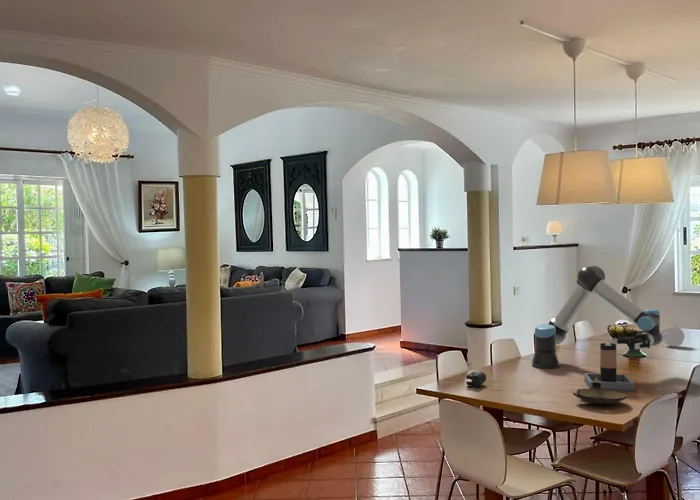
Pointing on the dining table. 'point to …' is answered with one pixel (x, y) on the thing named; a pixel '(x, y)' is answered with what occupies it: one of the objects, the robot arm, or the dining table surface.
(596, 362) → the dining table surface
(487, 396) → the dining table surface
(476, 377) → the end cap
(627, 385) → the parts tray
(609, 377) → the travel mug
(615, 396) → the oil lamp
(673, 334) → the decorative ball
